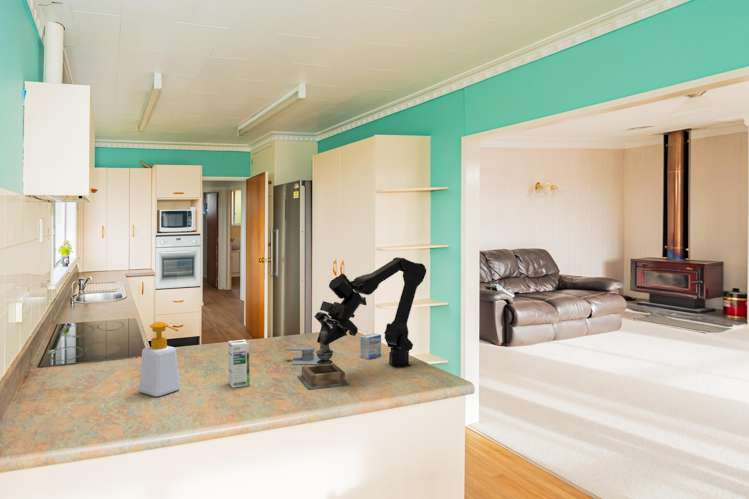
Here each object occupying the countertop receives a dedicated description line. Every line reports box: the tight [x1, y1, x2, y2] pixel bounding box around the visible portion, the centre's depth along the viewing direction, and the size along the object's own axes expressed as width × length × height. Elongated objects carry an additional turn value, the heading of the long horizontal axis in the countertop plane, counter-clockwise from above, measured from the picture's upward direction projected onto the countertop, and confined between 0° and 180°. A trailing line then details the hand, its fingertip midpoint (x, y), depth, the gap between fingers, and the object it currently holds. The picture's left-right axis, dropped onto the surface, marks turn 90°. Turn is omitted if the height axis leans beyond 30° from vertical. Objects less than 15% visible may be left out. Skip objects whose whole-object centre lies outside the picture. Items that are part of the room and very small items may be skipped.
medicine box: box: [359, 332, 382, 360], centre depth 217 cm, size 8×4×9 cm, turn 139°
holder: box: [297, 362, 350, 390], centre depth 186 cm, size 14×14×4 cm
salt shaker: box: [315, 327, 334, 364], centre depth 184 cm, size 6×6×12 cm
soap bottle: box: [138, 321, 181, 397], centre depth 171 cm, size 10×14×22 cm
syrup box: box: [227, 339, 251, 389], centre depth 180 cm, size 6×6×14 cm
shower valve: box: [285, 346, 322, 366], centre depth 210 cm, size 12×6×15 cm
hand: (321, 343), depth 184 cm, fingers closed on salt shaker, 4 cm apart
